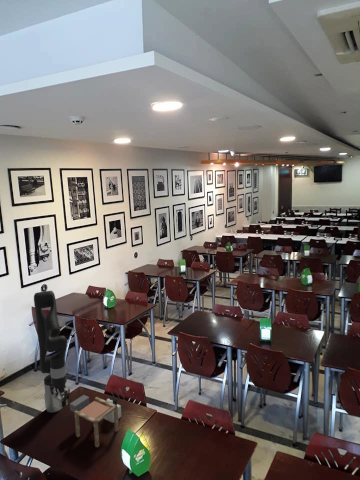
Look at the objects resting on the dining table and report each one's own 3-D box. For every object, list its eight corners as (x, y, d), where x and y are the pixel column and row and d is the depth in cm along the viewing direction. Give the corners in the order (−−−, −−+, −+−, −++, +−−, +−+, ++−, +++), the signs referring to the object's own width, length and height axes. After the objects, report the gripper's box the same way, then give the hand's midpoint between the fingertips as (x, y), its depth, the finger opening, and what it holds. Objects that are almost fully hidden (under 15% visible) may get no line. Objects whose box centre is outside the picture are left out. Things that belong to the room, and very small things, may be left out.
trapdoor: (68, 411, 199) (68, 404, 198) (85, 400, 209) (85, 393, 208) (94, 423, 188) (94, 416, 187) (110, 411, 198) (110, 404, 197)
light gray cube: (53, 406, 187) (52, 397, 187) (61, 401, 191) (60, 392, 191) (59, 409, 185) (59, 400, 184) (67, 404, 189) (67, 395, 188)
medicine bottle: (112, 412, 215) (111, 393, 213) (121, 416, 211) (120, 397, 209) (103, 419, 209) (102, 399, 207) (112, 423, 205) (111, 403, 203)
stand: (76, 436, 195) (74, 411, 193) (98, 420, 208) (96, 396, 206) (97, 447, 186) (95, 421, 184) (118, 430, 199) (117, 405, 197)
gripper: (43, 373, 186) (45, 403, 189) (61, 381, 178) (63, 413, 181) (55, 367, 192) (57, 396, 195) (73, 374, 184) (75, 405, 187)
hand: (60, 404), depth 188 cm, fingers closed on light gray cube, 5 cm apart
